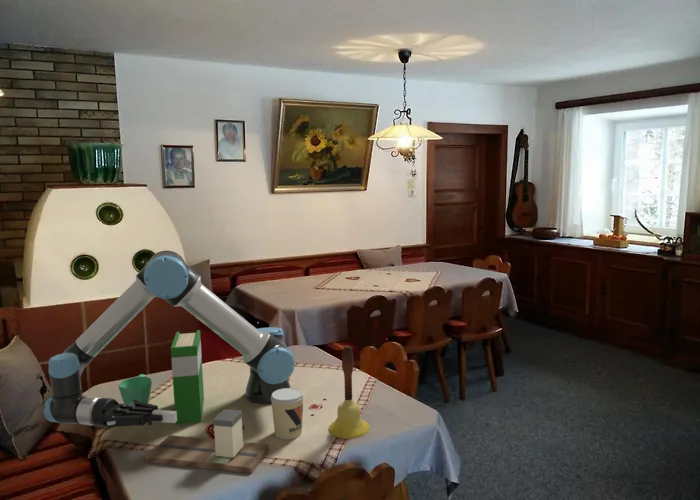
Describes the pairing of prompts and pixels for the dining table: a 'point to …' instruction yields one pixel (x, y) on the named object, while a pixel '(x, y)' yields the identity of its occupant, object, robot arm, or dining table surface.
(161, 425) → the dining table surface
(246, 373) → the dining table surface
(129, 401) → the mug
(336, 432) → the handbell
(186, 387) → the hardback book
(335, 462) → the dining table surface
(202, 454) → the fader track
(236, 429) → the fader knob
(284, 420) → the coffee cup
